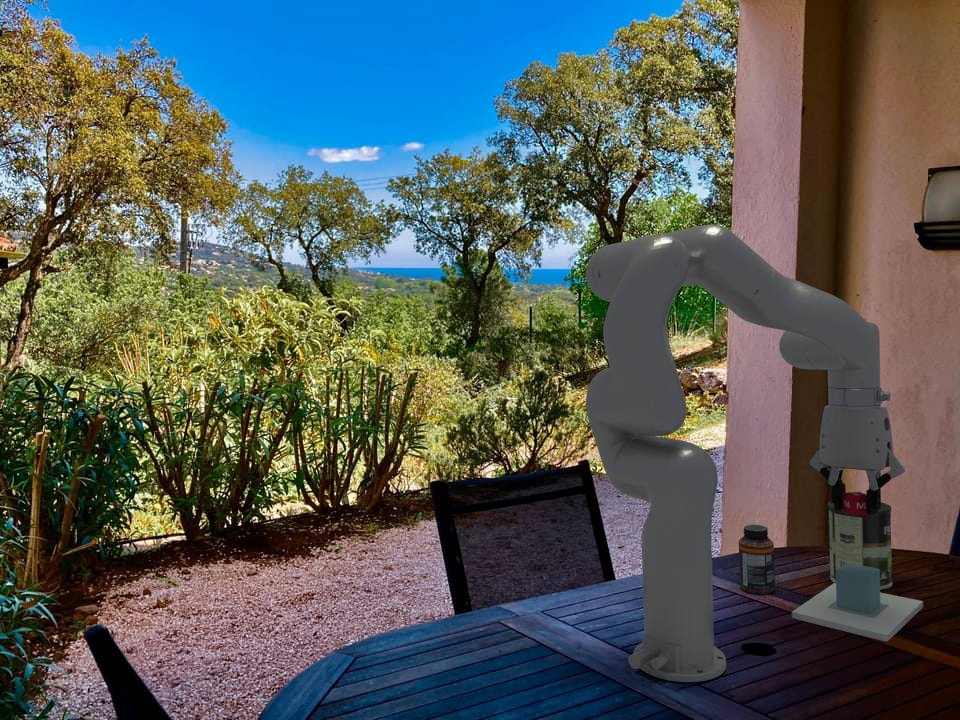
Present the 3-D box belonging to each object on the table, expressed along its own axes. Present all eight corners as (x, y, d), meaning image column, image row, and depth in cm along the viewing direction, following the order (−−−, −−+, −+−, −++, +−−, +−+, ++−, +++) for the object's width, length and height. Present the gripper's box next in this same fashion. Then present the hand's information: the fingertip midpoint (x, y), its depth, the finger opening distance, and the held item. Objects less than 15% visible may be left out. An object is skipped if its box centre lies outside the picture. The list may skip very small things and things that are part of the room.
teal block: (880, 605, 120) (879, 568, 119) (869, 614, 116) (868, 576, 116) (847, 598, 123) (847, 562, 123) (836, 606, 120) (835, 570, 120)
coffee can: (890, 575, 137) (889, 500, 136) (894, 593, 128) (893, 513, 127) (829, 569, 141) (827, 496, 141) (829, 586, 132) (827, 508, 132)
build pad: (887, 641, 108) (886, 634, 108) (791, 618, 119) (791, 611, 118) (923, 607, 121) (922, 600, 121) (834, 588, 131) (834, 582, 131)
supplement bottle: (745, 581, 136) (743, 521, 136) (778, 587, 133) (777, 525, 132) (735, 591, 131) (733, 528, 131) (770, 597, 128) (768, 533, 127)
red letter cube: (842, 510, 121) (841, 492, 121) (859, 509, 121) (859, 491, 121) (852, 515, 118) (852, 496, 118) (870, 514, 118) (870, 495, 118)
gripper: (919, 398, 115) (921, 514, 116) (810, 394, 127) (812, 499, 128) (904, 402, 110) (906, 524, 111) (792, 398, 122) (794, 507, 123)
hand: (856, 509), depth 119 cm, fingers closed on red letter cube, 4 cm apart
